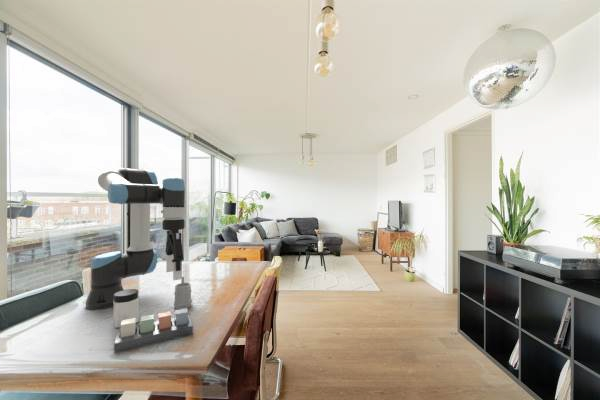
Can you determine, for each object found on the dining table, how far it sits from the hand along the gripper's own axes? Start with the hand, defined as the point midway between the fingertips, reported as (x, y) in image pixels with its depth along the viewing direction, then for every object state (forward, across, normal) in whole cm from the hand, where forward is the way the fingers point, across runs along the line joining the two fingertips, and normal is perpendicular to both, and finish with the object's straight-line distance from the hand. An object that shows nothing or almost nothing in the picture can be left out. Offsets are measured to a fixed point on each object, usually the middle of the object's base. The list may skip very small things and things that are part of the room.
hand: (173, 275), depth 96 cm
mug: (+20, -23, +8) cm, 31 cm away
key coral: (+18, +2, -3) cm, 18 cm away
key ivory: (+18, 0, -14) cm, 23 cm away
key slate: (+18, +2, +2) cm, 18 cm away
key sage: (+18, +1, -9) cm, 20 cm away
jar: (+20, -17, -14) cm, 30 cm away
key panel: (+20, +1, -6) cm, 21 cm away
